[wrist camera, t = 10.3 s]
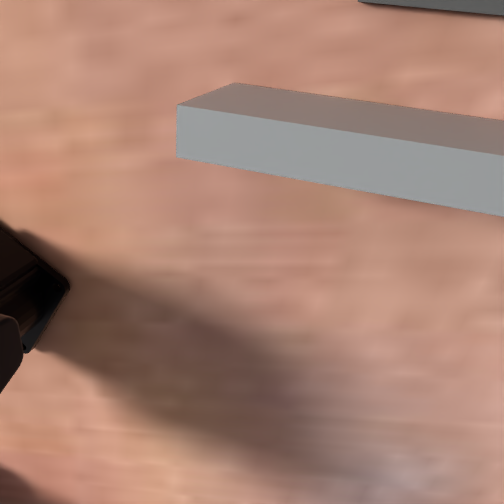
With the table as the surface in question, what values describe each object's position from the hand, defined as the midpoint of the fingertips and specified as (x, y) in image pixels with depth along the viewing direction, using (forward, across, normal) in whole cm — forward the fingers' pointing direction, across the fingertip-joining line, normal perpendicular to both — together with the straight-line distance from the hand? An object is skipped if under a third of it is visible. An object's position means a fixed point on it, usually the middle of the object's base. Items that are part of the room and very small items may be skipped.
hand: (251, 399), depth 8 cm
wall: (+12, -5, -2) cm, 13 cm away
